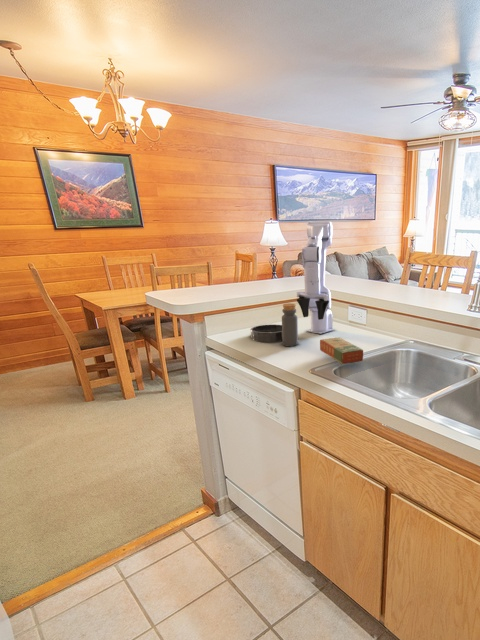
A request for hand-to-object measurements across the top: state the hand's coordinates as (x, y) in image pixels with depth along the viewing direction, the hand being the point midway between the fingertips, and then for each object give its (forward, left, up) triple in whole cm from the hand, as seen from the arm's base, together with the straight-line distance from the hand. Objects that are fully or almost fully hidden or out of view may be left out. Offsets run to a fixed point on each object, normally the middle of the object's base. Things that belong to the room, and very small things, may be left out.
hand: (313, 318), depth 157 cm
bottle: (+8, -5, -10) cm, 13 cm away
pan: (+6, -18, -9) cm, 21 cm away
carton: (+10, +21, -9) cm, 25 cm away
